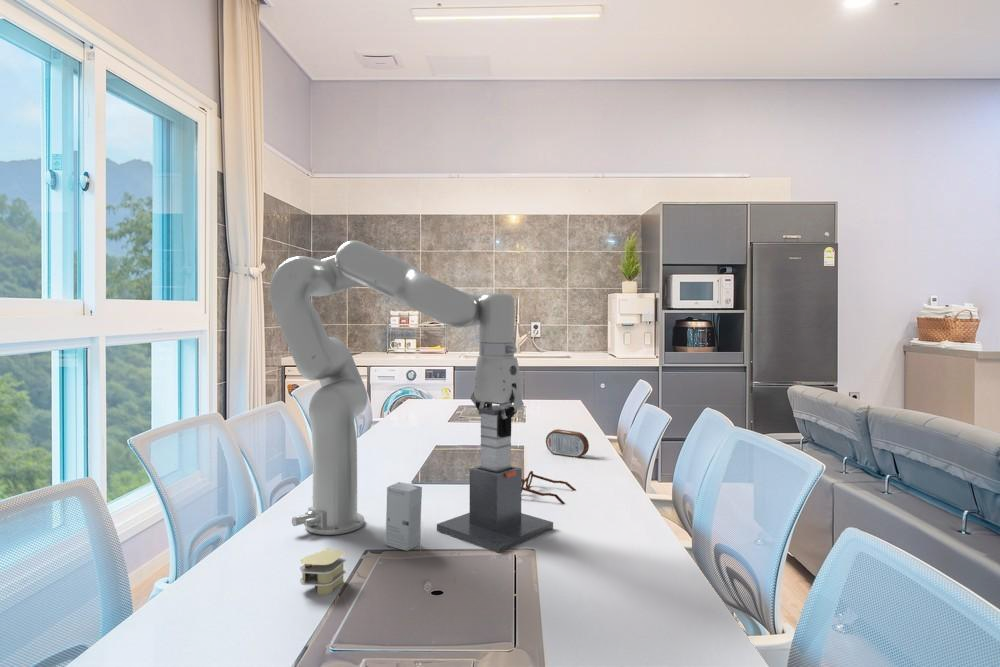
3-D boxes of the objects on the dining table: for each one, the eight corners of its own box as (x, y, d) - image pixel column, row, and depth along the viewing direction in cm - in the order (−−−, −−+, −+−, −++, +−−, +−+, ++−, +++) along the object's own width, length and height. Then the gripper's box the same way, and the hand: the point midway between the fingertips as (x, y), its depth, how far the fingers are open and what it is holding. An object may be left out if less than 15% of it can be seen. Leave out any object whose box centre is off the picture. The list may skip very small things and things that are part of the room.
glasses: (529, 486, 166) (529, 468, 166) (576, 491, 162) (576, 473, 162) (515, 500, 154) (515, 481, 154) (565, 506, 149) (565, 486, 149)
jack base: (498, 552, 119) (499, 485, 118) (436, 530, 130) (437, 469, 130) (553, 528, 132) (553, 468, 132) (492, 510, 144) (492, 454, 144)
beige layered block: (320, 573, 110) (320, 543, 110) (361, 581, 106) (361, 550, 106) (281, 596, 100) (281, 564, 100) (325, 606, 97) (325, 573, 97)
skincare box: (384, 545, 122) (384, 486, 122) (398, 538, 126) (398, 481, 125) (408, 551, 119) (408, 491, 118) (422, 544, 123) (422, 485, 122)
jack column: (494, 509, 127) (494, 410, 127) (478, 504, 130) (478, 408, 130) (512, 503, 132) (513, 407, 131) (496, 498, 135) (497, 405, 134)
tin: (589, 457, 199) (589, 432, 198) (585, 459, 196) (585, 434, 196) (548, 452, 207) (548, 427, 206) (544, 453, 204) (544, 429, 204)
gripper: (538, 352, 127) (537, 437, 128) (480, 348, 138) (479, 427, 139) (515, 353, 122) (514, 443, 122) (456, 349, 133) (456, 431, 133)
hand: (495, 433), depth 131 cm, fingers closed on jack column, 4 cm apart
